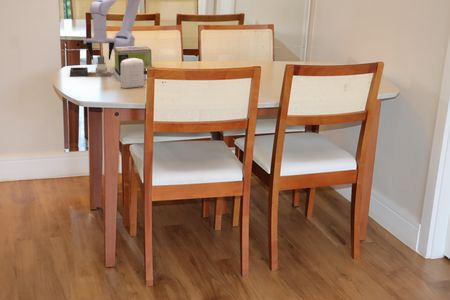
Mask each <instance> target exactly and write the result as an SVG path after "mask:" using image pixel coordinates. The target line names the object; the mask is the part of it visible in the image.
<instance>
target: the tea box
mask: <svg viewBox="0 0 450 300" xmlns="http://www.w3.org/2000/svg"><path fill="white" fill-rule="evenodd" d="M113 52H114V72H115V77H116V79H117V80H118V81H119V82H121V61H123V60H125V59H129V58H137V59H141V60H143V63H144V81H147V80H146V75H147V71H146V68H147V67H153V66H152V64H153V63H152V62H153V61H152V49H151V48H150V47H149V46H148V45H134V46H127V47H114V50H113Z"/></svg>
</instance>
